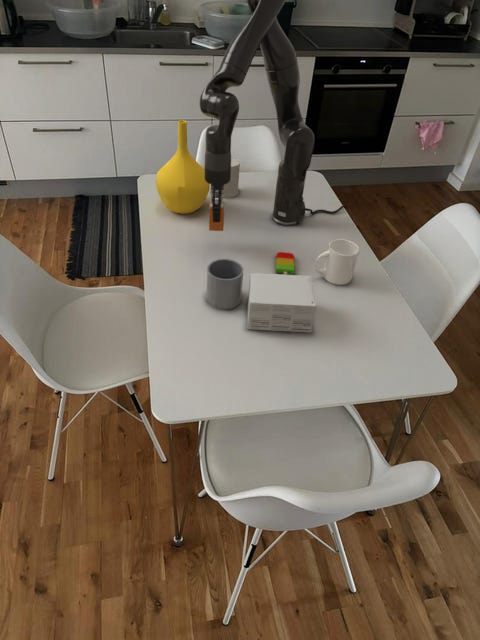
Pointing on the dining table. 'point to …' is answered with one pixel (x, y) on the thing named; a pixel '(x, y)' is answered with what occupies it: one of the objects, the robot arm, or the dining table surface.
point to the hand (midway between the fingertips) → (216, 217)
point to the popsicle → (285, 263)
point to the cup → (232, 180)
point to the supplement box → (281, 302)
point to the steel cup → (224, 283)
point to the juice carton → (216, 225)
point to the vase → (182, 178)
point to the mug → (339, 261)
